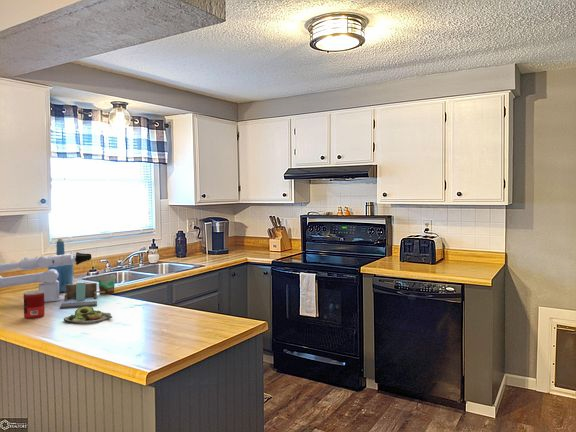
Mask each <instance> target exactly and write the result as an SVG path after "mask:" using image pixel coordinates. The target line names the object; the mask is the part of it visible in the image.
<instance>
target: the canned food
mask: <svg viewBox="0 0 576 432" xmlns="http://www.w3.org/2000/svg"><path fill="white" fill-rule="evenodd" d="M23 316H24V319H26V320H33V319H39V318H43V317H44V316H45V302H44V291H42V290H39V289H38V290H29V291H25V292H23Z"/></svg>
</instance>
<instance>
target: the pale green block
mask: <svg viewBox="0 0 576 432" xmlns="http://www.w3.org/2000/svg"><path fill="white" fill-rule="evenodd" d="M85 283H86V280H77V281H76V282H75V284H76V298H75V300H80V301H86V298H87V297H86V296H85Z"/></svg>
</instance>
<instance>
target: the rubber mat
mask: <svg viewBox="0 0 576 432" xmlns="http://www.w3.org/2000/svg"><path fill="white" fill-rule="evenodd" d="M97 305H98V301H97V300H91V301H76V302H65V303H64V302H61V304H60V306H59V310H62V309H76V308H77V309H78V308H81V307H84V306H90V307H92V308H93V307H97Z"/></svg>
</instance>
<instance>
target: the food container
mask: <svg viewBox="0 0 576 432" xmlns="http://www.w3.org/2000/svg"><path fill="white" fill-rule="evenodd" d="M116 279H117V276H116V274H115V273H110V274H108V275H104V276H98V277H97V281H98V289H99V290H98V291H99V292H98V293H99V295H111V294H113V293H114V294H115V282H116V281H115V280H116Z"/></svg>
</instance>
